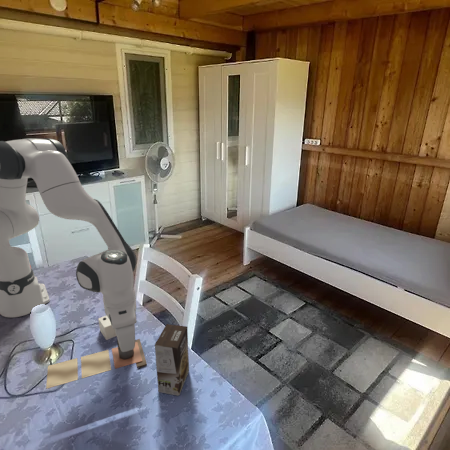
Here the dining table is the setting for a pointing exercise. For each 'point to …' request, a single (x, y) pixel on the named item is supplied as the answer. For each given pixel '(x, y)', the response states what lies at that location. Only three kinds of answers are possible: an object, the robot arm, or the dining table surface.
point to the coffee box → (172, 359)
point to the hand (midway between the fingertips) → (125, 342)
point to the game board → (92, 365)
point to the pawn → (125, 353)
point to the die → (106, 328)
